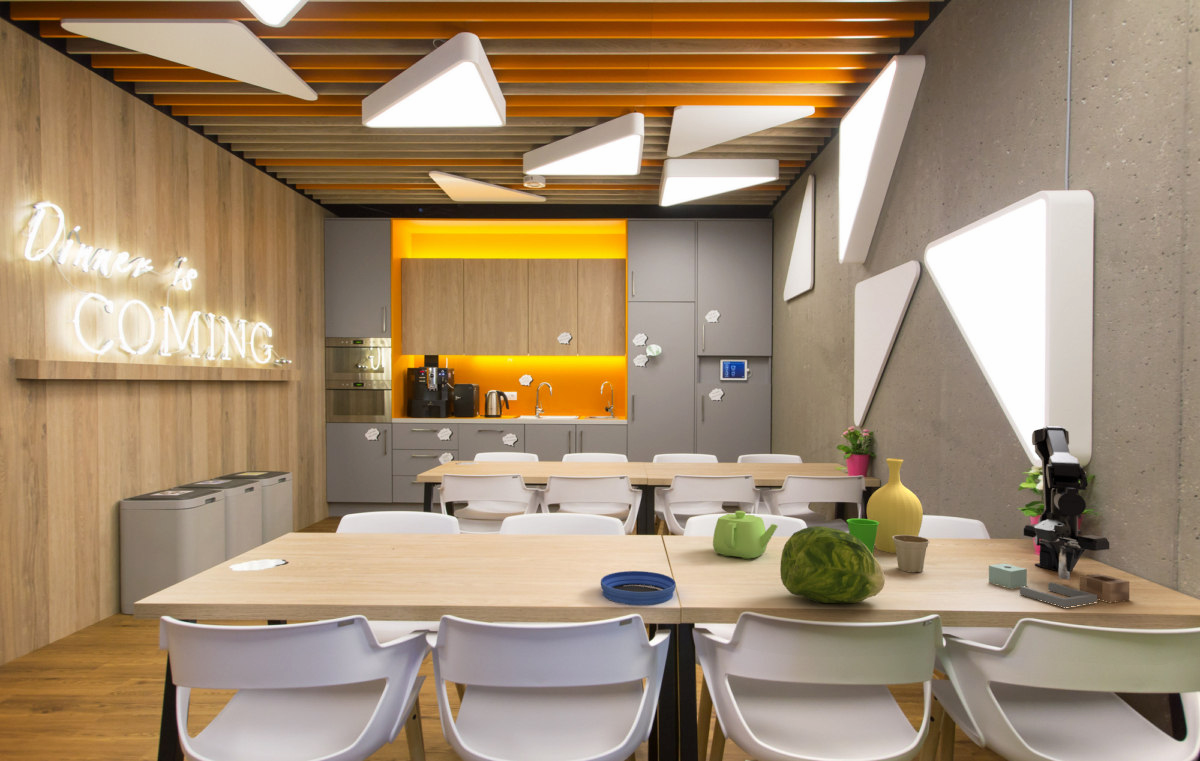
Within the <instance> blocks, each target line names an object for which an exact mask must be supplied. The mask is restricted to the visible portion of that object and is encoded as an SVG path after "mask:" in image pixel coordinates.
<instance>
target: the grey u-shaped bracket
mask: <svg viewBox="0 0 1200 761" xmlns="http://www.w3.org/2000/svg"><path fill="white" fill-rule="evenodd" d="M1047 584H1048V586H1047V588H1048V589H1047V591H1048V590H1050V591H1049V592H1052V591H1053V593H1055V592H1057V593H1056V594H1058V593H1060V594H1059V595H1062V594H1064V595H1063V596H1065V595H1067V596H1066V597H1060V596H1057V595H1054V594H1050V593H1047V592H1044V591H1040V590H1037V589H1035V588H1030V587H1027V586H1025V587H1024V586H1021V587H1019V595H1020V594H1021V595H1020V596H1022V595H1024V596H1023V597H1025V596H1027V597H1026V598H1029V597H1031V598H1030V599H1032V598H1034V599H1033V600H1035V599H1039V600H1042V601H1046V602H1049V603H1052V604H1056V605H1059V606H1062V607H1065V608H1066V607H1071V606H1077V605H1083V604H1089V603H1094V602H1097V603H1098V600H1097V595H1096V594H1092V593H1088V592H1085V591H1081V590H1080V589H1077V588H1074V587H1070V586H1066V585H1063V584H1059V583H1056V582H1051V581H1050V582H1048V583H1047ZM1069 596H1071V597H1069ZM1042 601H1041V602H1042Z"/></svg>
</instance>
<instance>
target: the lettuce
mask: <svg viewBox="0 0 1200 761" xmlns="http://www.w3.org/2000/svg"><path fill="white" fill-rule="evenodd" d="M781 553H782V554H781V558H780V568H779V569H780V579H781V582H782V585H783V586H784V587H785V588H786V590H787V591H788V592H789V593H790V594H792V595H796V596H801V597H802V598H804V599H808V600H810V601H813V602H818V603H824V604H826V603H827V604H829V603H831V604H833V603H834V604H855V603H859V602H863V601H864V600H867V599H868V598H872V597H875V596H877V595H878V594H879V593H880V592H881V591H882V590H883V588H884V587H885V583H886V582H885V578H886V577H885V574H884V570H883V568H882V567H881V564H880V563H879V561H878V560H877V558H876V557H875V556H874V554H873V555H872V554H871V552H870V551H869V549H868V548H867V546H866V545H865V544H863V543H862V542H861V541H860V540H859V539H857V538H856V537H854V536H853V535H851V534H849V532H847V531H844V530H842V529H838V528H833V527H826V526H821V525H815V526H809V527H805V528H802V529H799V530H798V531H795V532H794V533H792V535H790V537H788V539H787V541H786V542H785V544H784V546H783V549H782V551H781Z"/></svg>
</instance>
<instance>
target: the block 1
mask: <svg viewBox="0 0 1200 761" xmlns="http://www.w3.org/2000/svg"><path fill="white" fill-rule="evenodd" d="M1027 573H1028V569H1027V568H1023V567H1020V566H1016V565H1013V564H1008V563H998V564H991V565H988V583H989V582H991V583H990V584H993V583H994V584H993V585H996V584H998V585H997V586H999V585H1001V586H1000V587H1003V586H1005V587H1004V588H1006V587H1008V588H1007V589H1010V588H1013V589H1017V588H1016V587H1019V588H1020V587H1021V586H1025V587H1027V586H1028V578H1027V577H1028V574H1027Z"/></svg>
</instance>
